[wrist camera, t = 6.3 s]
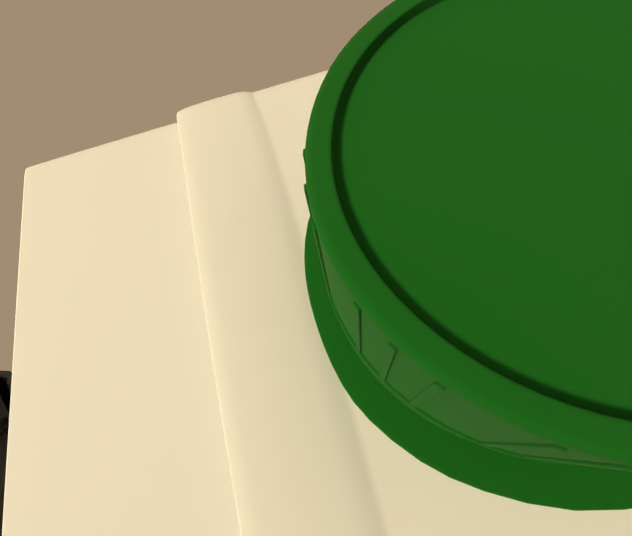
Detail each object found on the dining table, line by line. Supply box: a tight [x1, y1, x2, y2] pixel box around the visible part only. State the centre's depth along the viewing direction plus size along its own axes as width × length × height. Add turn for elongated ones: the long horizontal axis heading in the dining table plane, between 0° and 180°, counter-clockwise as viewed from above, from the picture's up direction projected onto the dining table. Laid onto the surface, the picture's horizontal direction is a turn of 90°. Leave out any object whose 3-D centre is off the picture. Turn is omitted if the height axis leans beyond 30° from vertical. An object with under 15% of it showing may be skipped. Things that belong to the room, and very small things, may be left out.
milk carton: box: [2, 0, 632, 536], centre depth 12 cm, size 9×9×20 cm
